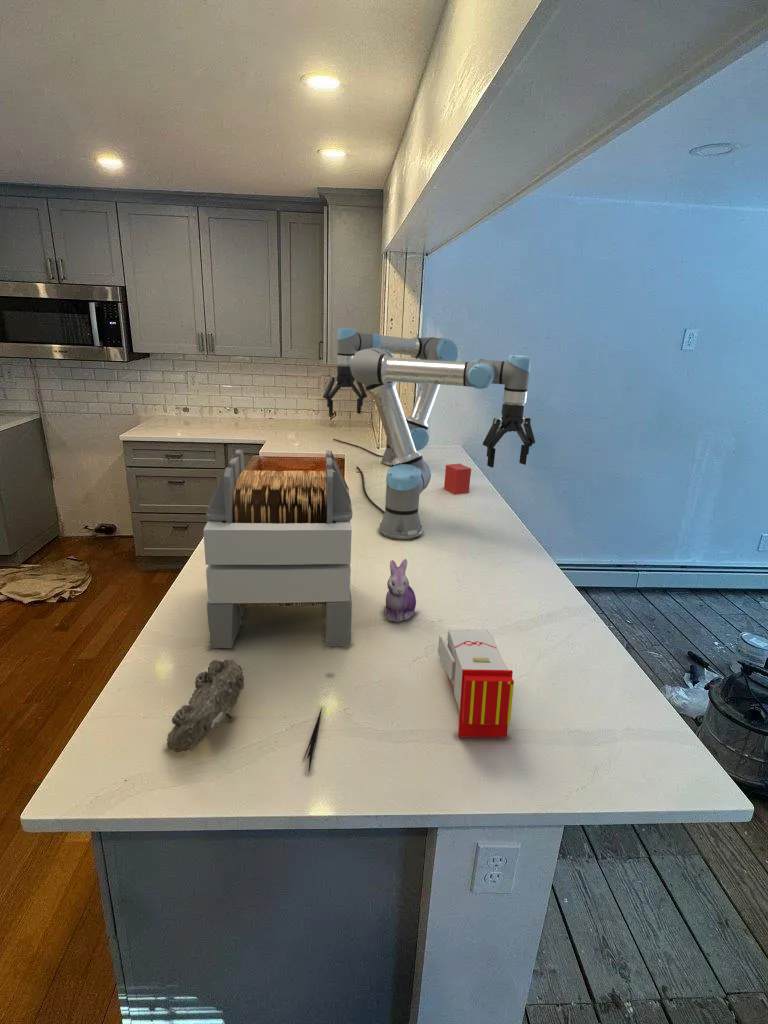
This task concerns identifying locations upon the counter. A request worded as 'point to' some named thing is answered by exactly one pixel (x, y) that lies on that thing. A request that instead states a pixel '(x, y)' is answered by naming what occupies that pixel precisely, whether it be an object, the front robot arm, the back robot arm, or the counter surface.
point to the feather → (313, 740)
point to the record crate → (278, 547)
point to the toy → (478, 682)
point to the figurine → (399, 594)
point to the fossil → (206, 705)
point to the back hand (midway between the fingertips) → (344, 414)
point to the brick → (457, 478)
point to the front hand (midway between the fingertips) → (506, 465)
